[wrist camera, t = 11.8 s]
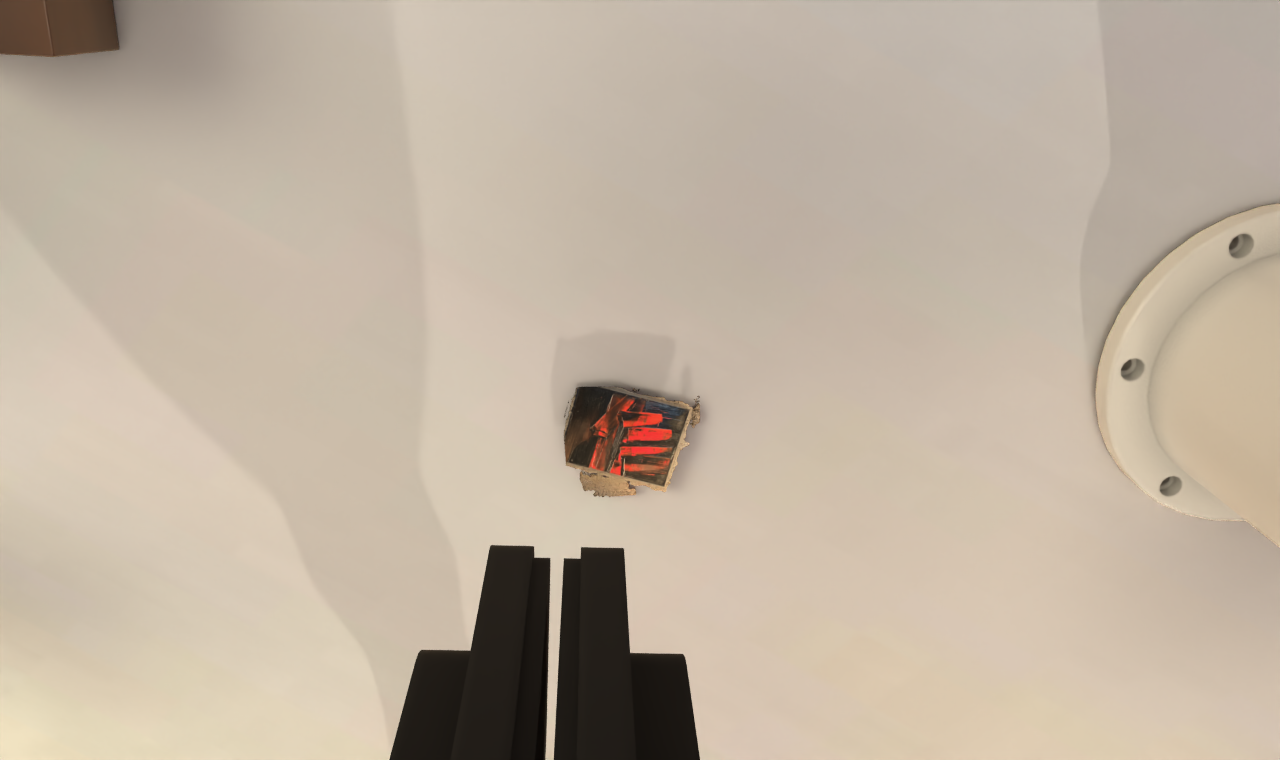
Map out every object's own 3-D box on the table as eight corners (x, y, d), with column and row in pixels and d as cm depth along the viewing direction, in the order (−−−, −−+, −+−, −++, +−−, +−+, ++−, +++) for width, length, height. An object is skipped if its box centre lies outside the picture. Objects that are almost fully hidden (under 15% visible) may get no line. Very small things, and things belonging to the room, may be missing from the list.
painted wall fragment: (562, 383, 35) (562, 388, 35) (700, 382, 36) (702, 387, 35) (564, 494, 37) (564, 500, 37) (696, 493, 37) (697, 498, 37)
